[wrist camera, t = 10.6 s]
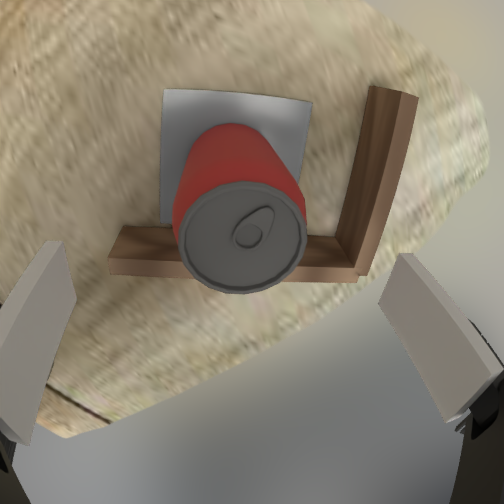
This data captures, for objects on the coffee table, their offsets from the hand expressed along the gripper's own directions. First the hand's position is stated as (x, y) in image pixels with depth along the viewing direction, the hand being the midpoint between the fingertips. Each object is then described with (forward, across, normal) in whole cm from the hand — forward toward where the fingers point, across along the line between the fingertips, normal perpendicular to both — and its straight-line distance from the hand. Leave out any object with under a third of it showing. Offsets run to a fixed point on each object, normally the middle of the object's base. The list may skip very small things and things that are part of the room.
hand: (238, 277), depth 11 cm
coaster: (+15, +1, 0) cm, 15 cm away
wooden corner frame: (+15, +2, 0) cm, 15 cm away
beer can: (+14, +1, 0) cm, 14 cm away
